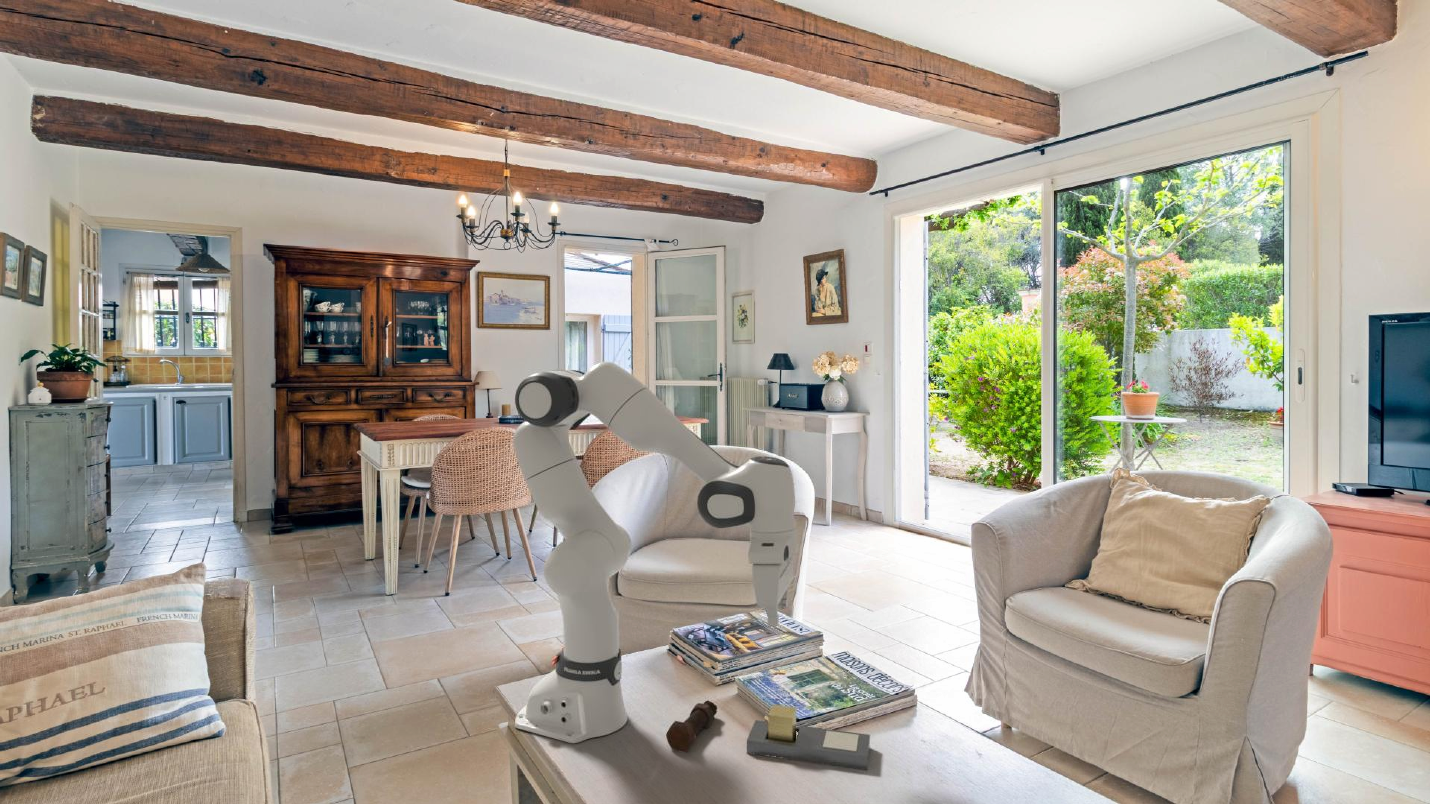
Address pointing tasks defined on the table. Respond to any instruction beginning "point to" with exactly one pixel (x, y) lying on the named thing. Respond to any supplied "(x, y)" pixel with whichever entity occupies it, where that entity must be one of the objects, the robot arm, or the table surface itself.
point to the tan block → (782, 724)
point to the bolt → (691, 726)
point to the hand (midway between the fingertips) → (778, 616)
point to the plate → (813, 746)
